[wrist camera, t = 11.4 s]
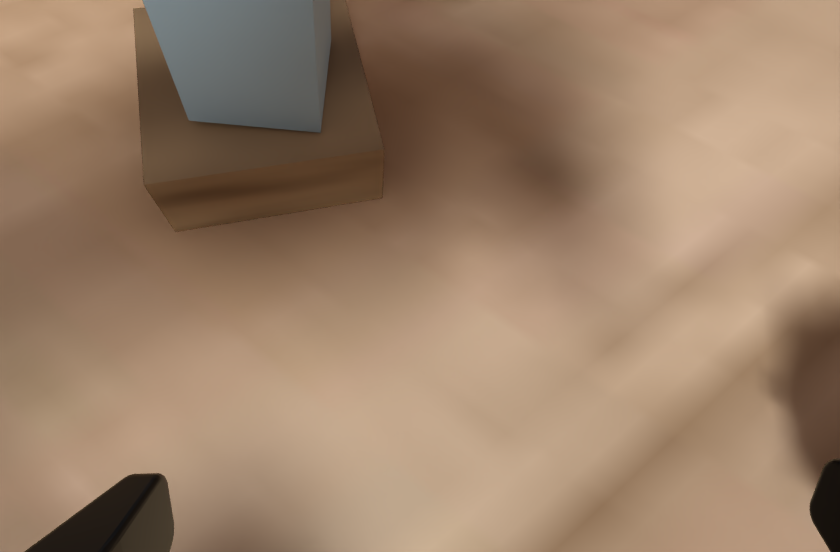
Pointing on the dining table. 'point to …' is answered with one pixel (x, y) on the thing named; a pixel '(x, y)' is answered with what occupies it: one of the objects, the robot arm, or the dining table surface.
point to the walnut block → (257, 145)
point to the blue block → (247, 59)
